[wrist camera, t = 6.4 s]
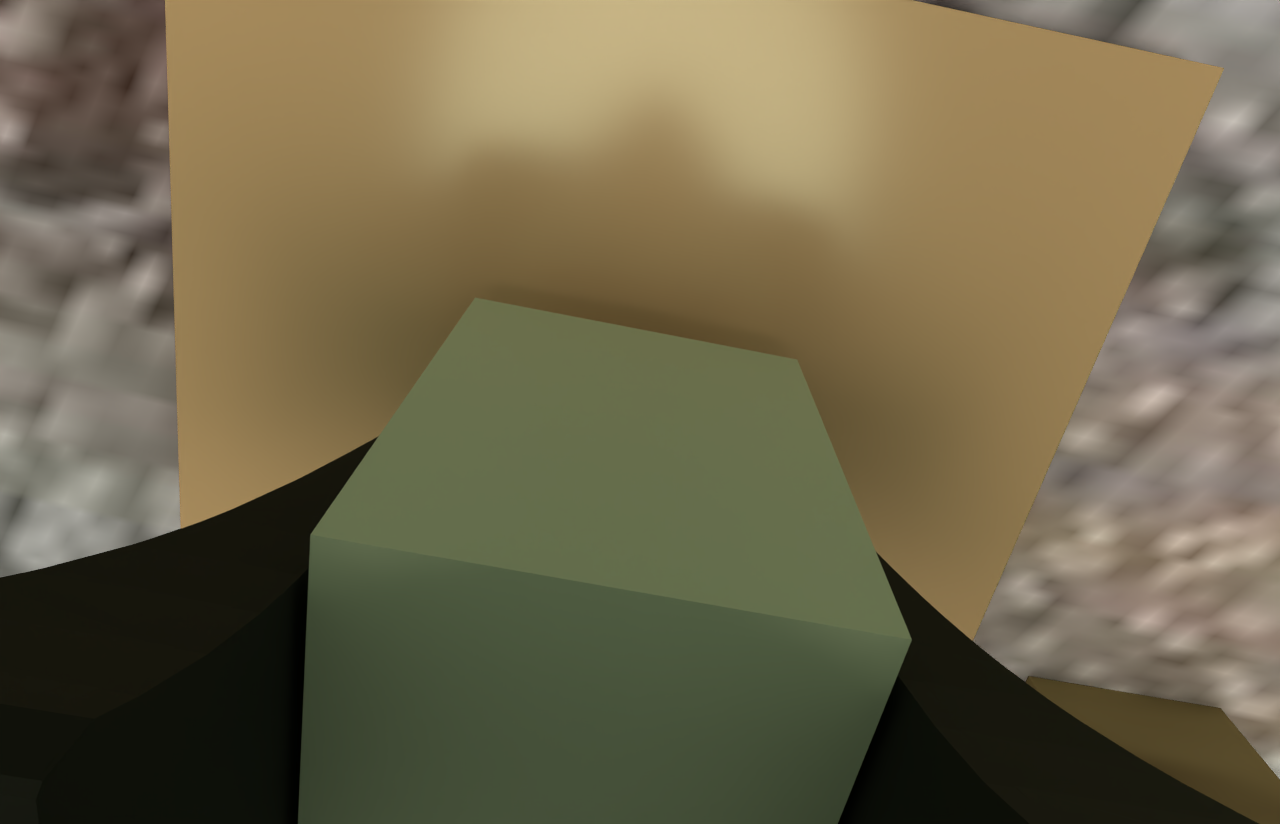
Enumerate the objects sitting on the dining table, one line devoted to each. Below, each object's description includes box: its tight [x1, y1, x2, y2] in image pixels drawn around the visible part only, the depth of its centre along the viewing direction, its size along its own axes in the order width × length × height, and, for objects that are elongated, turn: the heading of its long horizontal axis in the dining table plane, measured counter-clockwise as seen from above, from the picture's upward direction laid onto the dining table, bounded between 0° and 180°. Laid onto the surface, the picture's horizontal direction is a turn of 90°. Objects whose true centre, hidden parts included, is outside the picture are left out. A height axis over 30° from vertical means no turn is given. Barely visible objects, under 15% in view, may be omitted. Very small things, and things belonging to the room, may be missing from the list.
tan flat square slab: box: [165, 0, 1224, 641], centre depth 14 cm, size 14×14×1 cm
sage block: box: [298, 298, 912, 824], centre depth 10 cm, size 4×4×6 cm
